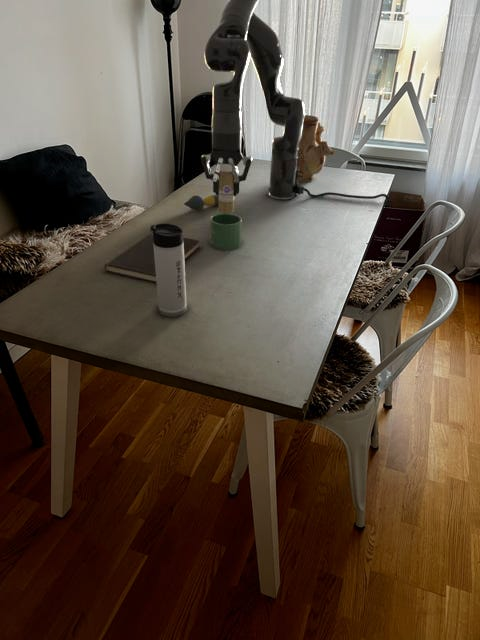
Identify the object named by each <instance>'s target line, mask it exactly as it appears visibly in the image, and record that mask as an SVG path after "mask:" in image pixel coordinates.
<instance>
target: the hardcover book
mask: <svg viewBox="0 0 480 640" xmlns="http://www.w3.org/2000/svg"><path fill="white" fill-rule="evenodd" d="M183 241H184V261H185V262H186V261H187V260H188V259H189V258H191V257H192V256H193V255H194V254H195V253H196V252H197V251H199V250H200V248H201V247H200V246H199V244H200V242H201V240H199V239H194V238H193V239H192V238H188V237H183ZM153 246H154V245H153V231H152V232H151V231H150V232H149V233H148V234H146V235H145V236H144V237H142V238H141V239H139V240H138V241H136V242H135V243H134V244H132V245H131V246H129V247H128V248H127V249H125V250H124V251H122V252H121V253H119V254H118V255H117V256H115V257H114V258H112V259H111V260H110V261H108V262H106V263H105V264H104V270H105V272H106V273H108V274H114V275H119V276H122V277H128V278H132V279H136V280H140V281H145V282H149V283H153V284H157V281H156V270H155V258H154V247H153Z"/></svg>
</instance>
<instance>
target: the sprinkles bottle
mask: <svg viewBox="0 0 480 640" xmlns="http://www.w3.org/2000/svg"><path fill="white" fill-rule="evenodd" d="M232 167H233V166H232V165H229V164H223V163H222V164H221V165H220V172H219V176H218V180H219V181H218V199H219V205H218V209H217V211H218V212H219V213H220V214H222V213H226V214H233V213H234V212H235V196H234V182H235V180H234V177H233V174H232Z"/></svg>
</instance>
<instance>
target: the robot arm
mask: <svg viewBox="0 0 480 640" xmlns="http://www.w3.org/2000/svg"><path fill="white" fill-rule="evenodd" d="M259 1H260V0H228V2H227V3H226V5H225V6H224V8H223V10H222V13H221V16H220V20H219V23H218V24H219V25H218V26H217V27H216V29H215V30H214V31H213V32H212V33H211V35H210V37H209V38H208V40H207V42H206V44H205V47H204V62H205V64H206V66H207V67H208V69H210V70H211V71H213V72H223V73H233V76H232V78H231V79H230V80H228V81H223V82H218V83H216V84H215V85H213V88H212V116H211V151H210V153H209V154H202V155H201V156H200V163H201V166H202V168H203V171H204V175H205V178H206V180H211V181H212V192H213V194H215V195H218V181H219V172H220V165H221V164H222V163H223V164H229V165H232V166H233V167H232V174H233V177H234V197H237V195H239V193H240V189H241V188H240V186H241V182H245V181H247V177H248V174H249V171H250V168H251V165H252V162H253V157H252V156H245V155H244V154H243V152H242V133H243V132H242V130H243V129H242V127H243V126H242V125H243V119H242V118H243V117H242V92H243V85H244V80H245V76H246V72H247V69H248V66H249V62H250V59H251V62H252V64H253V67H254V69H255V72H256V74H257V78H258V81H259V84H260V88H261V90H262V94H263V97H264V102H265V106H266V110H267V114H268V117H269V119H270V121H271V122H272V123H273V125H276V126H279V127H284V129H283V134H282V135H278V136H275V137H274V138H273V139H272V142H271V158H270V171H269V172H270V175H269V187H268V196H269V198H272V199H274V200H279V201H287V200H292V199H294V198H296V197H297V195H303V194H304V192H306V193H307V195H308V196H309V197H312V198H318V197H324V196H338V197H344V198H351V199H361V200H362V199H363V200H366V199H367V200H374V199H378V198H381V197H385V198H386V199H390V197H389V195H387V194H386V193H379V194H376V195H354V194H346V193H341V192H340V193H339V192H331V191H328V192H322V193H318V194H313V193H311V192H310V190H309V189H308V188H305V187H304V186H303V185H301V184H299V183H298V182H299V180H298V174H299V171H298V170H297V159H298V148H299V143H300V140H301V136H302V129H303V122H304V114H305V115H306V113H305V109H306V108H305V104H304V102H303V100H301V99H300V98H297V97H292V96H286V95H285V94H284V92H283V90H282V87H281V83H280V77H281V73H282V70H283V66H284V55H283V51H282V47H281V44H280V41H279V37H278V35H277V33H276V32H275V31H274V30H273V28H272V27H270V26H269V25H268V24H267V23H266V22H265V21H263V19H261V18H260V17H259V16H258V15H256V14H255V12H254V10H255V9H256V7H257V5H258V3H259ZM211 160H212V162H213V163H214V165H215V166H216V167H215V169H214V172H213V173H212V170H211V167H210V162H211ZM241 161H242V164H243V166H244V168H243V172H242V174H240V173H239V168H238V165H239V164H240V162H241Z"/></svg>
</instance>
